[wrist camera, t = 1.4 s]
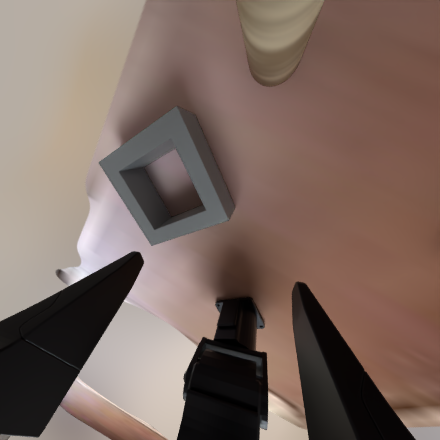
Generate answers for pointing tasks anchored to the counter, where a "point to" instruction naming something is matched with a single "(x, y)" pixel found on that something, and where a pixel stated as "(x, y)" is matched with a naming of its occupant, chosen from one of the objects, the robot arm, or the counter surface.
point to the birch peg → (276, 35)
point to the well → (144, 189)
